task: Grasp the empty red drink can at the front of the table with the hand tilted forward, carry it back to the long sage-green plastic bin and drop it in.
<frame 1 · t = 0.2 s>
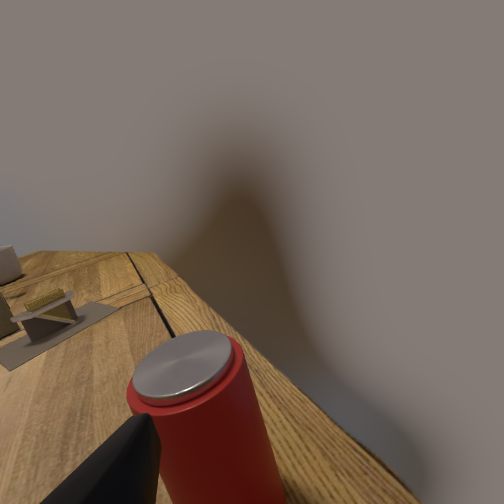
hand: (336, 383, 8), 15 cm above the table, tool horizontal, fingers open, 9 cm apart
planter: (5, 282, 107), on the table
platform: (58, 330, 57), on the table
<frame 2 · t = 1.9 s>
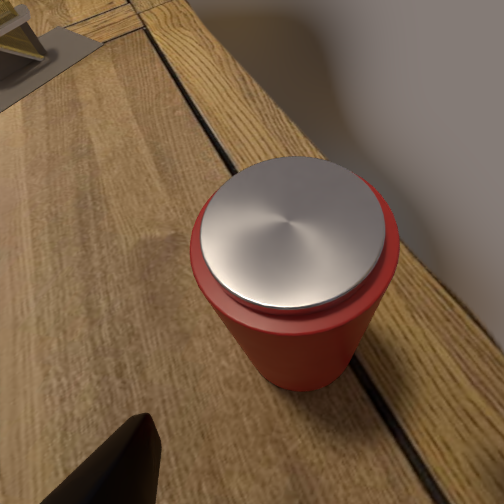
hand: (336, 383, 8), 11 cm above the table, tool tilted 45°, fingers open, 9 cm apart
can: (298, 334, 19), on the table
platform: (25, 70, 42), on the table
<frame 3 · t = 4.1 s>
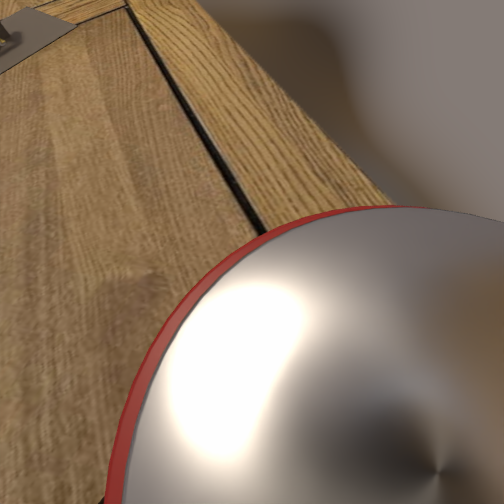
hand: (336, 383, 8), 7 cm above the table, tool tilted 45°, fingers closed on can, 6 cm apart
can: (334, 446, 12), on the table, touching gripper
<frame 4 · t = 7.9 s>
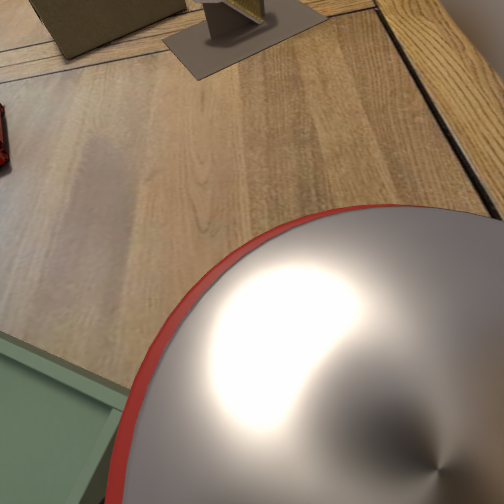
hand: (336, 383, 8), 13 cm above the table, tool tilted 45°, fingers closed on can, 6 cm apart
can: (335, 445, 12), point 6 cm above the table, touching gripper
tissue box: (120, 23, 47), on the table
platform: (241, 31, 41), on the table
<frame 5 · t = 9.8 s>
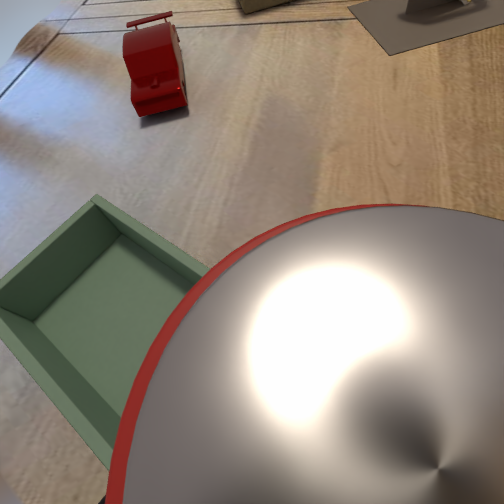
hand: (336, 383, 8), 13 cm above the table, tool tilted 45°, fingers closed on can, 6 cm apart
can: (335, 445, 12), point 6 cm above the table, touching gripper
toy car: (164, 83, 38), on the table
platform: (441, 9, 37), on the table
bin: (170, 352, 22), on the table
when the fingers open (11 cm above the table, at t = 11.7 s): can stays where it is, resting on bin.
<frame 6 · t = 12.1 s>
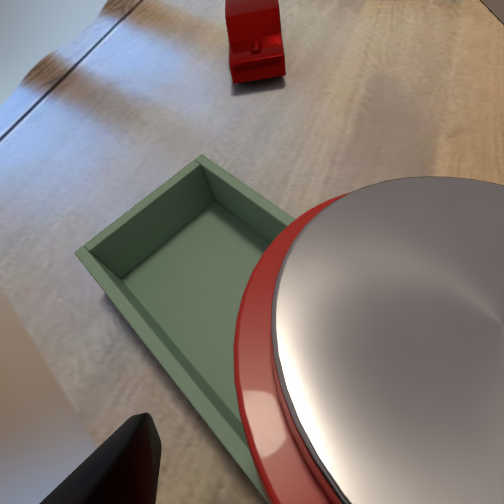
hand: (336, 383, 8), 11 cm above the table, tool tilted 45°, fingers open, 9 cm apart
can: (333, 446, 13), point 4 cm above the table, tilted 10°, touching bin, gripper
toy car: (257, 52, 36), on the table
bin: (266, 331, 20), on the table
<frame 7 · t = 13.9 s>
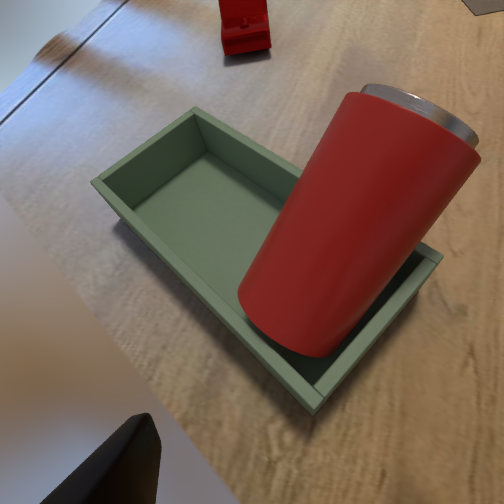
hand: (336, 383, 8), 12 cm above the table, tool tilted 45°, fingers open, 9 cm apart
can: (287, 314, 18), point 3 cm above the table, tilted 51°, touching bin
toy car: (247, 30, 40), on the table
bin: (248, 248, 24), on the table
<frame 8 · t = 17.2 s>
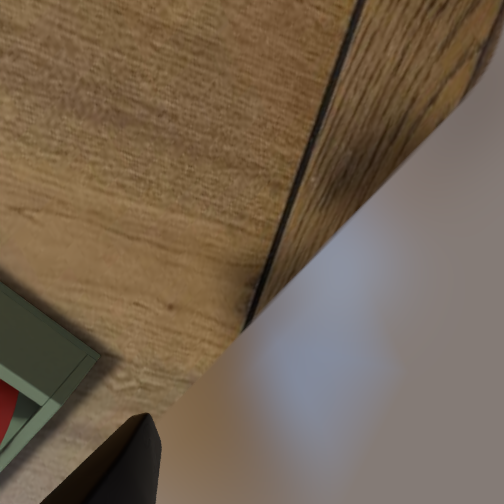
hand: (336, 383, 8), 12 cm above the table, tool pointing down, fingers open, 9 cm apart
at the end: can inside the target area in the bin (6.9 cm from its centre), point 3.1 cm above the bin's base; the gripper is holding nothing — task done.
